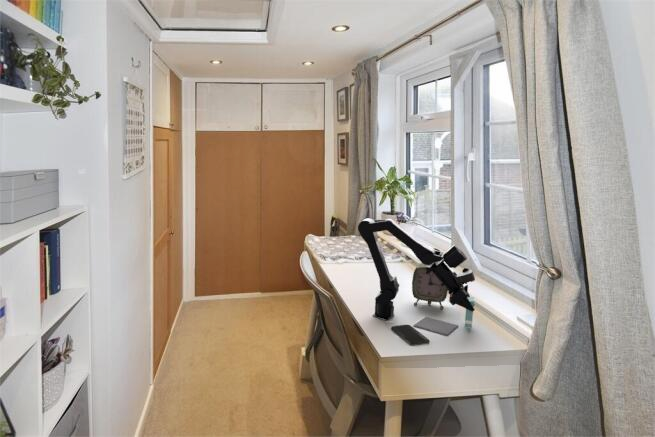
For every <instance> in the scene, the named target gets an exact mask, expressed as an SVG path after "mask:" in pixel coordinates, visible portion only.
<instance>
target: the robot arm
mask: <svg viewBox="0 0 655 437" xmlns="http://www.w3.org/2000/svg"><path fill="white" fill-rule="evenodd" d="M357 231H358V232H359V235H360V236H361V238H362V239H363V240H364V242H365V243H366V245H367V247H368V251H369V253H370V256H371V258H372V261H373V263H374V267H375V269H376V273H377V274H378V278H379V289H380V291H378V293H377V295H376V297H375V298H374V300H375V301H374V302H375V303H374V304H375V305H374V314H372V317H374V318H378V319H382V320H385V321H387V320H389V319H391V318H393V317H394V316H395V306H394V301H393V300H394V299H395V298H396V296H397V294H398V293H399V287H400V284H399V283H398V277H397V276H395V275H394V277H393V275H392V274H391V273H390V270H389V268H388V265H387V263H386V258H385V257H384V254H383V251H382V248H381V246H380V243H379V239H378V238H379V237H378V232H385V231H387V232H389V233H390V234H391V235H392V236H394V237H395V238H396V239H397V240H398V241H400V242H401V243H402V244H404V245H405V246H406V247H407V248H409V249H410V250H411V251H412V253H413V254H414V256H415V257H416V258H417V259H418V260H419V261H420V263H423V264H425V265H430V264H432V263H433V262H434V263H433V264H432V265H431V266H426V274H428V273H430V272H431V271H432V273H433V274H434V275H435V276H436V277H437V278H438V280H439V281H440V282H441V285H442V286H443V285H444V287H445V288H446V289H447V290H448V292H447V294H449V300H448V301H449V303H450V304H451V305H452V306H454V305H458V306H460V307H462V308H464V309H465V310H466V309H468V310H470V311H472V312H473V313H474V311H475V310H476V309H475V306H476V305H475V303H474V307H473V306H472V304H471V303H470V301H469V299H468V298H467V297H471V295H470V294H469V292H468V288H469V284H468V283H470V282H471V283H472V282H474V281H476V279H475V278H476V277H475V274H474V272H473V270H472V269H469V268H468V267H466V266H465V267H463V268H462V272H459V273H457V272H456V271H452V269H456V268H457V267H459V266H460V265H462V264H463V263H464V262H466V261H467V260H468V257H467V256H466V254H465V253H464V252H463V250H462V249H460V248H459V247H457V245H455V244H453V245H452V246H451V247H450V248H449V249H447V251H445V252H443V251H441V250H440V251H441V252H440V251H437V250H435V249H434V248H435V247H432V246H430V245H428V244H427V243H424V242H422V241H419V240H418V239H417V238H415V237H414V236H413V235H412V234H411V233H409V232H408V231H406V230H405V229H404V228H402V226H400V225H399V224H398V223H397V222H395V221H394V219H393V218H387V219H386V218H385V219H372V218H365V219H363V220H362V221H360V222H359V224H358V226H357ZM465 284H466V285H465ZM464 285H465V286H464Z"/></svg>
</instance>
